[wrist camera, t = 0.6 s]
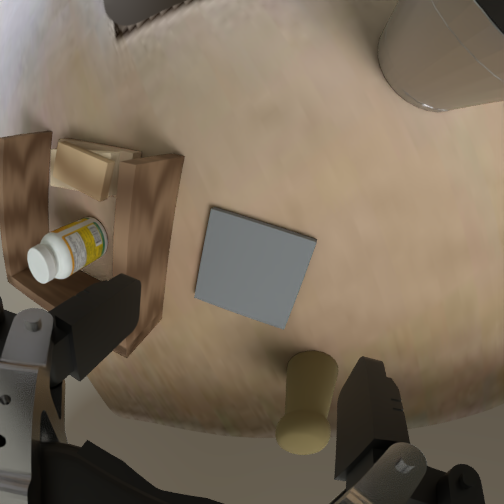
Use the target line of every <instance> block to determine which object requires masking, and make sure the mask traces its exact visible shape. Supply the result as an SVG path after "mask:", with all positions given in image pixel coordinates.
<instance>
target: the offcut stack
mask: <svg viewBox="0 0 504 504" xmlns="http://www.w3.org/2000/svg"><path fill="white" fill-rule="evenodd" d="M141 153H142V152H140V151H135V150H130V149H125V148H120V147H115V146H110V145H105V144H99V143H94V142H88V141H82V140H76V139H70V138H64V139H59V142H58V146H57V148H56V149H51V162H50V186H55V187H60V188H66V189H71V190H76V191H81V192H82V193H84V194H86V195H88V196H90V197H92V198H94V199H96V200H97V201H99V202H101V201H103V200H106V199H107V198H108V197H110V196H113V197H116V196H117V186H118V177H119V169H120V162H121V161H126V160H132V159H138V158H141Z"/></svg>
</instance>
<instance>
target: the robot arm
mask: <svg viewBox="0 0 504 504" xmlns="http://www.w3.org/2000/svg"><path fill="white" fill-rule="evenodd" d="M378 59H379V64H380V67H381V70H382V72H383V74H384V77H385V78H386V80H387V81H388V83H389V84H390V86H391V87H392V88H393V89H394V90H395V91H396V92H397V94H398V95H400V96H401V97H402V98H403V99H405V100H406V101H407V102H409V103H410V104H412V105H414V106H416V107H418V108H421V109H424V110H427V111H433V112H442V111H449V110H454V109H459V108H465V107H470V106H476V105H481V104H487V103H493V102H499V101H504V0H399V1H398V3H397V5H396V7H395V9H394V11H393V13H392V15H391V17H390V19H389V21H388V23H387V25H386V27H385V29H384V31H383V33H382V35H381V37H380V40H379V44H378ZM140 300H141V282H140V280H138V279H135V278H133V277H130V276H128V275H126V274H123V273H120V274H119V275H117V276H115V277H114V278H112V279H110V280H109V281H102V282H98V283H94V284H92V285H90V286H89V287H87V288H85V289H84V291H81V292H79V293H77V294H76V296H72V297H71V298H69V299H68V300H66V301H64V302H63V303H61V304H60V305H58V306H56V307H55V308H53V309H52V310H50V311H49V312H47V311H45V310H43V309H38V308H30V309H26V310H23V311H21V312H19V313H18V314H15V313H12V312H9V311H7V310H4V309H3V304H2V299H1V297H0V504H223V503H220V502H217V501H214V500H211V499H208V498H202V497H195V496H189V495H183V494H178V493H172V492H168V491H163V490H160V489H158V488H156V487H154V486H153V485H152V484H150V483H149V482H148V481H146V480H145V479H144V478H143V477H141V476H140V475H139V474H137V473H136V472H135V471H134V470H133V469H132V468H130V467H129V466H128V465H127V464H126V463H125V462H123V461H122V460H120V459H118V458H117V457H115V456H113V455H111V454H110V453H108V452H106V451H105V450H103V449H101V448H100V447H98V446H96V445H95V444H93V443H92V442H90V441H88V440H87V441H86V442H85V443H84V445H83V446H82V447H79V446H75V445H71V444H68V442H67V437H66V433H65V418H64V417H65V380H64V379H65V378H66V377H67V376H68V375H71V376H72V377H74V378H75V379H77V380H78V381H81V380H82V379H83V378H84V377H86V376H87V375H88V374H89V373H90V372H91V371H92V370H93V369H94V368H95V367H96V366H97V365H98V364H99V363H100V362H101V361H102V360H103V359H104V358H105V357H106V356H107V355H108V354H109V353H111V352H112V351H113V350H114V349H115V348H116V347H117V346H118V345H119V344H120V343H121V342H122V341H123V340H124V339H125V338H126V337H127V336H128V335H130V334H131V333H132V332H133V331H134V329H135V328H136V326H137V324H138V321H139V315H140ZM334 479H335V480H342V481H346V489H344V490H343V491H342V492H341V493H340V494H339V495H338V496H337V497H335V498H334V499H333V500H332V501H331V502H330V503H329V504H485V501H484V495H483V489H482V484H481V480H480V477H479V475H478V473H477V472H476V471H475V470H474V469H473V468H472V467H470V466H468V465H465V464H458V465H456V466H454V467H453V468H452V469H451V470H450V471H448V472H447V473H446V472H443V471H440V470H436V469H434V468H431V467H428V466H427V461H426V458H425V456H424V455H423V453H422V452H421V451H420V450H419V449H418V448H417V447H415V446H414V445H411V444H410V441H409V436H408V431H407V425H406V420H405V415H404V412H403V406H402V403H401V397H400V392H399V389H398V387H397V386H396V384H395V383H394V381H393V380H392V378H388V377H386V372H385V368H384V364H383V362H382V361H379V360H375V359H371V358H368V357H364V356H362V357H361V358H360V359H359V360H358V362H357V364H356V365H355V367H354V369H353V371H352V372H351V374H350V376H349V378H348V379H347V381H346V383H345V384H344V386H343V388H342V390H341V392H340V395H339V398H338V403H337V441H336V462H335V478H334Z"/></svg>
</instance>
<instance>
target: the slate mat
mask: <svg viewBox="0 0 504 504" xmlns="http://www.w3.org/2000/svg"><path fill="white" fill-rule="evenodd" d="M316 242H317V239H314V238H311V237H308V236H305V235H302V234H299V233H296V232H293V231H290V230H286V229H283V228H280V227H277V226H274V225H271V224H268V223H265V222H262V221H258V220H255V219H252V218H249V217H246V216H242V215H239V214H236V213H233V212H230V211H226V210H223V209H220V208H216V207H213V208H211V212H210V217H209V222H208V227H207V232H206V237H205V242H204V247H203V252H202V258H201V263H200V268H199V274H198V280H197V285H196V291H195V297H194V298H197V299H200V300H202V301H205V302H207V303H210V304H213V305H215V306H218V307H221V308H224V309H226V310H229V311H232V312H235V313H237V314H240V315H243V316H246V317H249V318H251V319H254V320H257V321H260V322H263V323H266V324H269V325H272V326H275V327H278V328H281V329H284V328H285V326H286V323H287V321H288V318H289V315H290V313H291V310H292V308H293V305H294V303H295V300H296V297H297V295H298V292H299V289H300V287H301V284H302V281H303V279H304V276H305V273H306V270H307V268H308V265H309V262H310V259H311V256H312V254H313V251H314V248H315V245H316Z"/></svg>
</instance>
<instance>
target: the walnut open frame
mask: <svg viewBox="0 0 504 504" xmlns="http://www.w3.org/2000/svg"><path fill="white" fill-rule="evenodd" d="M51 141H52V132H49V131H43V132H35V133H27V134H20V135H14V136H7V137H2V138H0V231H1V240H2V248H3V255H4V260H5V267H6V273H7V279H8V282H9V283H11V284H12V285H13V286H14V287H16V288H17V289H18V290H20V291H21V292H22V293H23V294H25V295H26V296H27V297H29V298H30V299H32V300H33V301H34V302H36V303H37V304H39V305H40V306H41V307H43V308H44V309H46V310H47V311H50V310H52V309H53V308H55V307H56V306H58V305H60V304H61V303H63V302H64V301H66V300H68V299H69V298H71V297H72V296H76V294H77V293H79V292H81V291H84V289H85V288H87V287H89V286H90V285H92V284H94V283H98V282H102V281H100V280H98V279H96V278H94V277H91V276H89V275H88V274H86V273H84V272H82V271H80V270H78V271H77V272H75V273H74V274H72V275H70V276H69V277H67V278H65V279H57V278H54V279H53V280H51V281H49V282H47V283H45V284H42V283H40V282H38V281H37V280H36V279H35V277H34V276H33V274H32V273H31V271H30V268H29V265H28V260H27V254H28V251H29V249H31V248H32V247H34V246H36V245H37V244H40V243H41V240H42V238H43V237H44V236H45V235H46V234H48V233H49V223H48V186H49V165H50V151H51ZM184 157H185V156H180V155H176V154H172V153H170V154H163V155H157V156H150V157H144V158H138V159H132V160H126V161H121V162H120V169H119V177H118V186H117V196H116V208H115V221H114V239H113V278H114V277H115V276H117V275H119V274H120V273H123V274H126V275H128V276H130V277H133V278H135V279H138V280H140V282H141V300H140V315H139V321H138V324H137V326H136V328H135V329H134V331H133V332H132V333H131V334H130V335H128V336H127V337H126V338H125V339H124V340H123V341H122V342H121V343H120V344H119V345H118V346H117V347H116V348H115V349H114V350H113V351H114V352H116V353H118V354H120V355H122V356H124V357H126V358H128V356H129V355H130V354H131V353H132V352H133V351H134V350H135V349H136V347H137V346H138V345H139V344H140V343H141V342H142V341H143V339H144V338H145V337H146V336H147V335H148V334H149V333H150V332H151V330H152V329H153V328H154V327H155V326H156V325H157V324H158V323H159V321H160V320H161V319H162V310H163V300H164V290H165V280H166V272H167V263H168V255H169V248H170V240H171V233H172V226H173V220H174V213H175V207H176V201H177V195H178V189H179V184H180V178H181V173H182V167H183V162H184Z"/></svg>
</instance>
